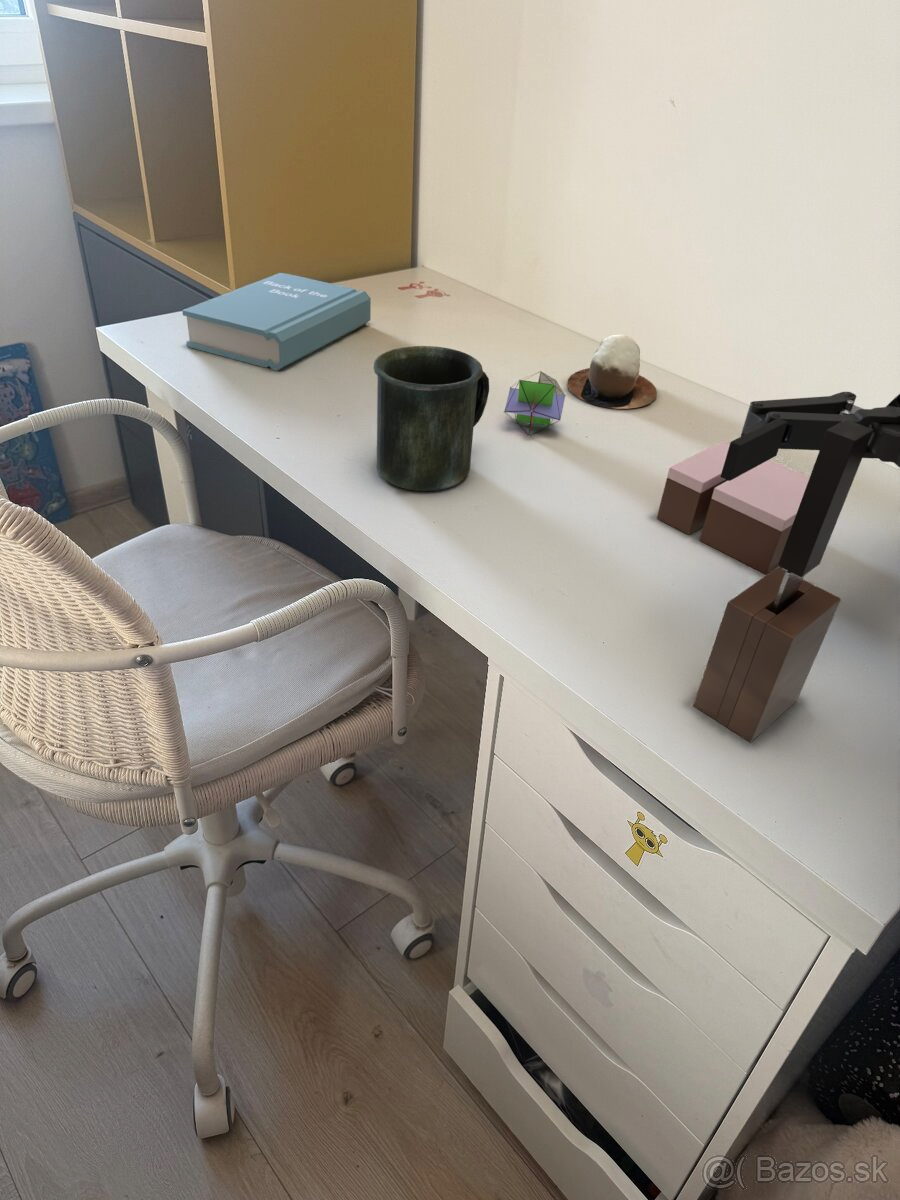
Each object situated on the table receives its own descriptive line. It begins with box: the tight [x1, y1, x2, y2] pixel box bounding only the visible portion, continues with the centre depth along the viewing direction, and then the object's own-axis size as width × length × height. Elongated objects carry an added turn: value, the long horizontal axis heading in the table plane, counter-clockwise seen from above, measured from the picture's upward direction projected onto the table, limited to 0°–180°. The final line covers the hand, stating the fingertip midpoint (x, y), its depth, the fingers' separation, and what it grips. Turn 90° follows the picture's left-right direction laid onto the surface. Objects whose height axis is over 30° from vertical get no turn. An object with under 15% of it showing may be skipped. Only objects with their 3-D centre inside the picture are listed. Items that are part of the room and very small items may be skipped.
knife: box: [771, 420, 873, 615], centre depth 57 cm, size 2×3×23 cm, turn 133°
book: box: [181, 272, 372, 372], centre depth 119 cm, size 23×16×5 cm
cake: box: [699, 459, 810, 575], centre depth 82 cm, size 8×10×6 cm
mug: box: [372, 345, 490, 492], centre depth 88 cm, size 11×15×12 cm
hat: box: [566, 334, 658, 410], centre depth 111 cm, size 12×10×10 cm
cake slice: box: [656, 440, 730, 536], centre depth 86 cm, size 4×10×6 cm, turn 133°
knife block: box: [693, 566, 842, 743], centre depth 61 cm, size 5×7×10 cm
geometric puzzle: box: [503, 370, 567, 437], centre depth 99 cm, size 7×7×8 cm
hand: (821, 502), depth 53 cm, fingers open, 13 cm apart
